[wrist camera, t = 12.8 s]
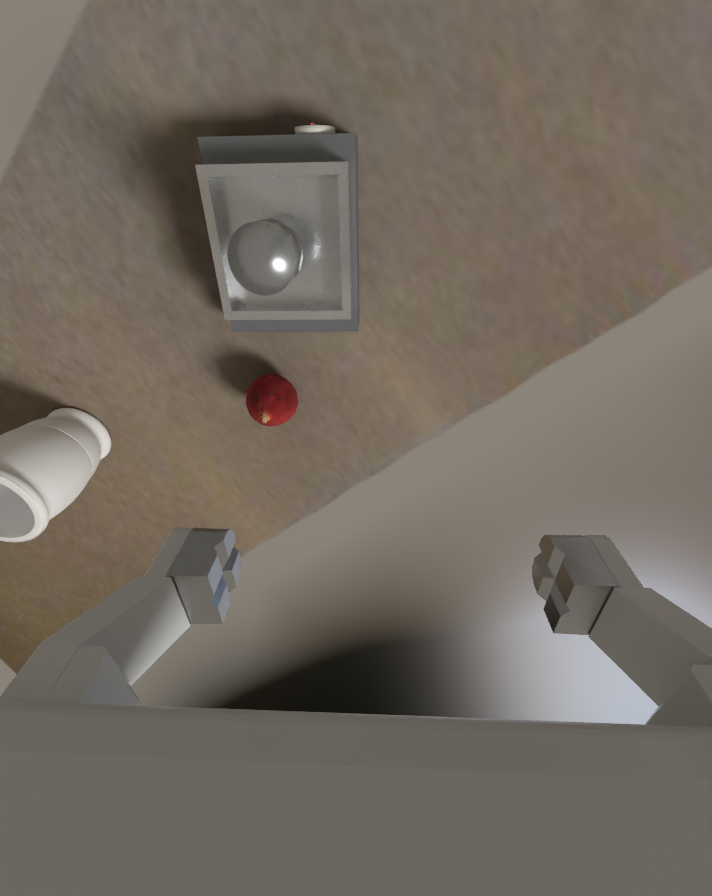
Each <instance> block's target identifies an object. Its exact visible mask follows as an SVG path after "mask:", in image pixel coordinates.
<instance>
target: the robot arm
mask: <svg viewBox="0 0 712 896" xmlns="http://www.w3.org/2000/svg"><path fill="white" fill-rule="evenodd" d="M235 541H236V538H235V535H234V531H233V530H230V529H210V528H179V527H176V528H175V529H173V530H172V531H171V532H170V534H169V535H168V537H167V539H166V540H165V542H164V544H163V545H162V547H161V549H160V550H159V552H158V554H157V555H156V557H155V559H154V560H153V562H152V563H151V565H150V567H149V568H148V570H147V572H146V573H145V575H144V576H138V577H136V578H135V579H133V580H132V581H130V582H129V583H127V584H126V585H124V586H123V587H121V588H120V589H118V590H117V591H115V592H114V593H113V594H111V595H110V596H108V597H107V598H105V599H104V600H102V601H101V602H99V603H98V604H96V605H95V606H93V607H92V608H90V609H89V610H87V611H86V612H85V613H83V614H82V615H80V616H79V617H77V618H76V619H74V620H73V621H71V622H70V623H68V624H67V625H65V626H64V627H62V628H61V629H59V630H58V631H57V632H55V633H54V634H52V635H51V636H49V637H48V638H46V639H45V640H43V641H42V642H41V643H40V644H39V645H38V647H37V648H36V650H35V651H34V652H33V654H32V655H31V656H30V658H29V659H28V660H27V662H26V663H25V664H24V666H23V667H22V668H21V670H20V671H19V672H18V674H17V675H16V677H15V678H14V679H13V681H12V682H11V683H10V684H9V686H8V687H7V688H6V690H5V691H4V693H3V694H2V695H1V697H0V896H712V628H710V627H708V626H707V625H705V624H704V623H702V622H701V621H699V620H698V619H696V618H695V617H693V616H692V615H690V614H689V613H687V612H686V611H684V610H682V609H681V608H679V607H678V606H677V605H675V604H674V603H672V602H671V601H669V600H667V599H666V598H664V597H663V596H661V595H660V594H658V593H657V592H655V591H654V590H652V589H650V588H644V587H643V586H642V584H641V583H640V581H639V580H638V579H637V577H636V576H635V574H634V573H633V571H632V570H631V568H630V567H629V565H628V564H627V562H626V561H625V559H624V558H623V557H622V555H621V554H620V552H619V551H618V549H617V548H616V546H615V545H614V543H613V542H612V541H611V539H610V538H609V537H607V536H606V535H585V536H583V535H544V536H543V537H542V538H541V541H540V543H539V547H540V549H541V552H542V553H540V554H539V555H537V556H536V557H535V558H534V562H533V566H532V578H533V582H534V586H535V589H536V591H537V594H538V595H540V596H541V597H542V598H543V599H544V600H546V604H545V607H544V611H545V614H546V616H547V619H548V621H549V623H550V626H551V628H552V631H553V633H561V634H579V635H589V637H590V639H591V640H592V641H593V642H595V644H596V645H597V646H599V648H600V649H601V650H602V651H604V653H605V654H607V656H609V657H610V658H611V659H612V660H613V661H614V662H615V663H616V664H617V665H618V666H619V667H620V668H621V669H622V670H623V671H624V672H625V673H626V674H627V675H628V676H629V677H630V678H631V679H632V680H633V681H634V682H635V683H636V684H637V685H638V686H639V687H640V688H641V689H642V690H643V691H644V692H645V693H646V694H647V695H648V696H649V697H650V698H651V699H652V700H653V701H654V702H655V703H656V704H657V705H658V706H659V707H658V708H657V709H656V711H655V712H654V713H653V714H652V716H651V717H650V718H649V719H648V721H647V723H646V725H637V724H611V723H583V722H557V721H532V720H506V719H505V720H504V719H478V718H453V717H427V716H400V715H374V714H346V713H320V712H319V713H318V712H294V711H292V712H291V711H267V710H240V709H214V708H186V707H161V706H142V705H141V702H140V700H139V699H138V697H137V695H136V694H135V692H134V691H133V689H132V688H131V685H132V684H133V683H134V682H135V681H136V680H137V679H138V678H139V677H140V676H141V675H142V674H143V673H144V672H145V671H146V670H147V669H148V668H149V667H150V666H151V665H152V664H153V663H154V662H155V661H156V660H157V659H158V658H159V657H160V656H161V655H162V654H163V653H164V652H165V651H166V649H168V648H169V647H170V646H171V644H173V643H174V642H175V641H176V640H177V639H178V638H179V637H180V636H181V635H182V634H183V633H184V632H185V631H186V630H187V629H188V627H189V626H190V624H194V623H195V624H200V623H201V624H204V623H205V624H207V623H208V624H218V623H219V624H220V623H221V624H222V623H223V622H224V619H225V616H226V614H227V611H228V608H229V605H230V602H231V599H230V595H229V592H230V591H231V590H232V589H234V588H235V587H236V585H237V582H238V579H239V576H240V569H241V559H240V554H239V551H238V550H237V549H236V548H234V547H233V546H234V543H235Z"/></svg>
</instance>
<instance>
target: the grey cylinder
mask: <svg viewBox="0 0 712 896" xmlns="http://www.w3.org/2000/svg"><path fill="white" fill-rule="evenodd" d="M311 252H312V243H311V238H310V235H309V233H308V231H307V229H306V228H305V226H304V225H303V224H302V223H301V222H300V221H298V220H297V219H295V218H294V217H291V216H288V215H278V216H274V217H270V218H266V219H262V220H258V221H254V222H250V223H246V224H244V225H242V226H241V227H239V228H238V229H237V230H236V231H235V232H234V233H233V235H232V237H231V239H230V241H229V245H228V250H227V257H228V263H229V267H230V270H231V272H232V274H233V276H234V277H235V279H236V280H237V281H238V283H239V284H240V285H241V286H243V287H244V288H245V289H246V290H248V291H250V292H252V293H254V294H257V295H262V296H269V295H274V294H277V293H279V292H281V291H282V290H283V289H285V288H286V287H287V285H288V284H289V283H290V282H291V281H292V280H293V279H294V278H295V277H296V276H297V275H298V274H299V273H300V272H301V270H302V269H303V268H304V267H305V266H306V265H307V263H308V262H309V260H310V257H311Z"/></svg>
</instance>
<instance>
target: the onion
mask: <svg viewBox="0 0 712 896" xmlns="http://www.w3.org/2000/svg"><path fill="white" fill-rule="evenodd" d="M246 405H247V408H248V411H249V414H250V415H251V416H252V417H253V419H254V420H256V421H257V422H258V423H260V424H261V425H266V426H278V425H281V424H283V423H285V422H287V421H288V420H289V419H290V418H291V417H292V416H293V415H294V413H295V412H296V408H297V405H298V398H297V392H296V390H295V388H294V387H293V385H292V384H291V383H290V382H289V381H288V380H286V379H285V378H283V377H281V376H278V375H263V376H261V377H259V378H257V379H255V380H254V381H253V383H252V384H251V385H250V387H249V388H248V391H247V396H246Z"/></svg>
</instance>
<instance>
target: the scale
mask: <svg viewBox="0 0 712 896" xmlns="http://www.w3.org/2000/svg"><path fill="white" fill-rule="evenodd" d="M197 140H198V145H199V150H200V156H201V161H202V165H207V164H254V163H300V162H346V161H348V162H349V163H350V202H351V253H352V305H353V313H352V318H351V319H342V320H231V324H232V330H233V332H341V331H358V327H359V246H358V152H357V136H356V133H337V134H335V127H333V126H327V125H316V124H315V123H310V125H305V126H298V127H295V135H255V136H215V137H197Z"/></svg>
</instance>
